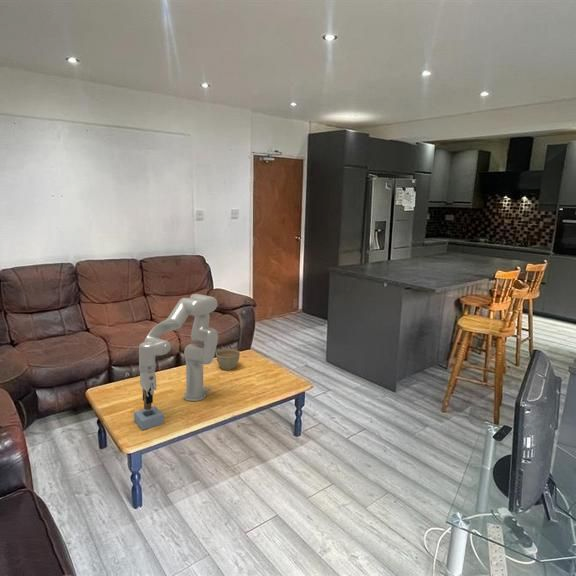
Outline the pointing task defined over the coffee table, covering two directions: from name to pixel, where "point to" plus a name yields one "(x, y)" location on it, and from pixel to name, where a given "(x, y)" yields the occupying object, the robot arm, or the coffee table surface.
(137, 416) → the socket block
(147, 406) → the peg
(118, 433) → the coffee table surface
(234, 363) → the planter bowl
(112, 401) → the coffee table surface
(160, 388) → the coffee table surface
